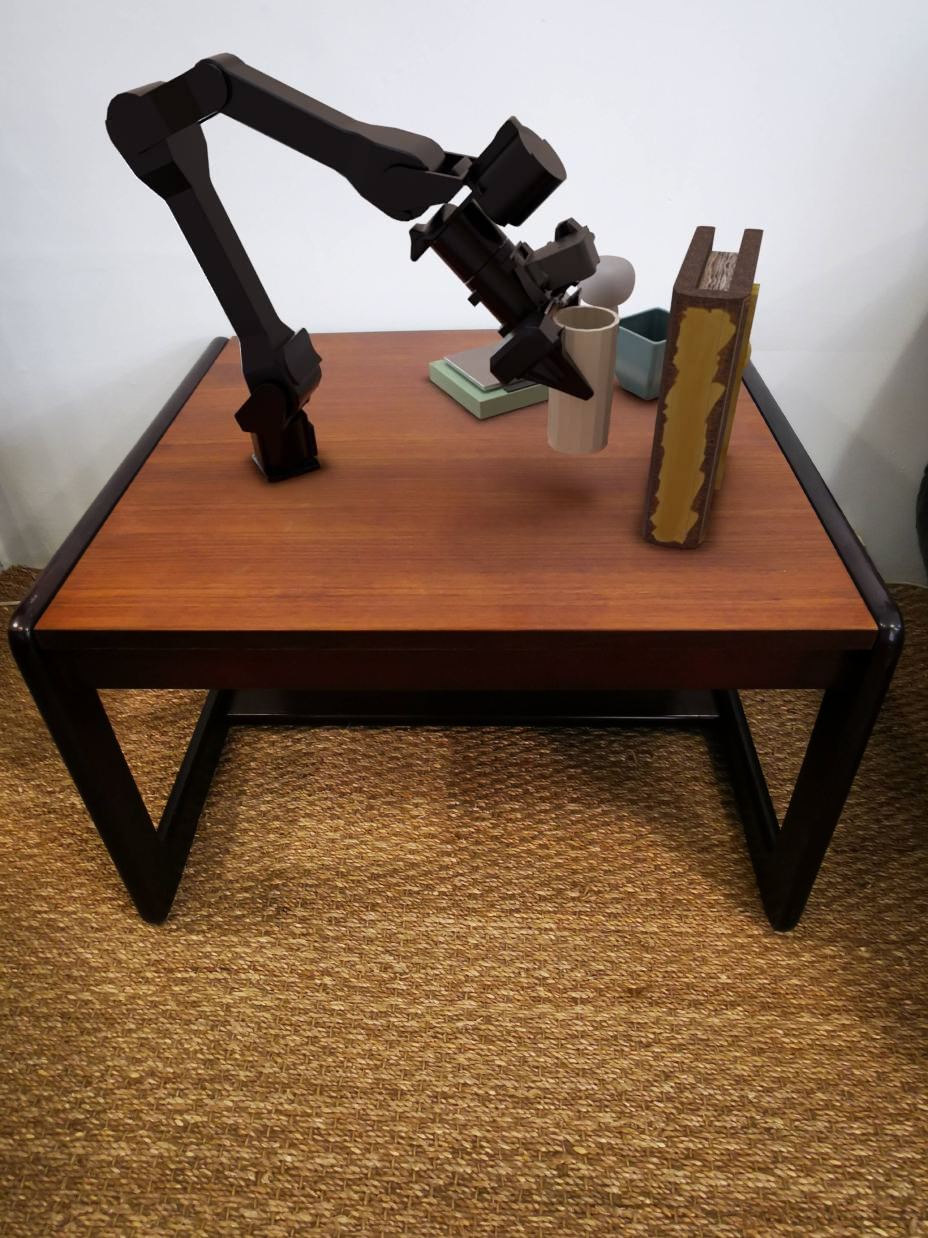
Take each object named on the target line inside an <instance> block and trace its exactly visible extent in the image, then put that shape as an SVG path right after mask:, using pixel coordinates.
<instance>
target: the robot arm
mask: <svg viewBox="0 0 928 1238" xmlns="http://www.w3.org/2000/svg"><path fill="white" fill-rule="evenodd" d="M220 114H222V115H224V116H226V117H228V118H230V119H232V120H234V121H236V122H238V123H240V124H242V125H244V126H246V127H248V128H249V129H251V130H254V131H255V132H257V133H260V134H262V135H264V136H266V137H268V138H269V139H271V140H274V141H275V142H278V143H279V144H282V145H283V146H285V147H287V148H290V149H292V150H293V151H296V152H297V153H299V154H301V155H303V156H305V157H308V158H310V159H312V160H313V161H316V162H317V163H319V164H320V165H321V164H322V165H323V166H325V167H327V168H329V169H331V170H333V171H335V173H337V174H338V175H340V176H341V177H342V178H344V179H345V180H346V181H347V182H348V183H349V185H351V187H352V188H353V190H355V192H356V193H357V194H358V195H359V196H360V197H361V198H363V199H364V200H365V201H367V202H368V203H370V205H372V206H374V207H375V208H376V209H378V210H379V211H381V212H382V213H383V214H385V216H387V217H389V218H391V219H392V220H395V221H398V222H406V223H408V222H410V221H413V220H416V219H417V218H418V219H419V218H420V217H422V216H423V215H424V214H425V213H426V212H427V211H428V210H429V209H430V208H431V207H433V206H439V205H441V206H440V207H439V208H438V210H437V211H436V212H435V213H434V214H433V215H432V216H431V217H430V218H429V220H428V221H427V222H426V223H419V222H417V223H415V224H414V225H412V226H411V228H410V229H409V230H408V236H409V239H410V248H409V250H410V252H409V259H410V261H411V262H413V263H415V262H418V261H419V260H420V258H422V256H423V255H424V254H425V253H426V252H427V251H428V250H429V248H430V249H431V250H432V251H433V252H434V253H435V254H436V256H437V257H439V259H440V260H441V261H442V262H443V263H444V264H445V265H446V266H447V267H448V269H450V271H451V272H452V273H453V274H454V275H455V276H456V277H457V278H458V280H460V282H461V283H462V284H464V286H465V287H466V288H467V289H468V290H469V291H470V292H471V293H470V294H469V296H468V297H467V299H466V300H467V301H468V302H469V303H470V304H471V305H472V306H473V308H476V306H478V305H479V304H480V303H481V304H482V305H483V306H484V307H485V309H486V310H487V311H488V312H489V313H490V314H491V315H492V316H493V317H494V318H495V319H496V321H497V322H499V324H500V326H499V328H498V330H497V333H498V335H500V337H502V339H501V340H500V341H498V342H499V343H498V344H497V346H496V348H495V350H494V352H493V353H492V355H491V357H490V372H491V374H492V375H493V376H494V377H495V378H496V379H497V380H498V381H499V382H500V383H501V384H502V385H503V386H506V385H508V384H509V383H510V382H511V381H512V380H513V379H516V380H520V379H521V378H522V379H525V380H528V381H531V382H535V383H538V384H541V385H544V386H547V387H550V388H553V389H556V390H558V391H561V392H563V393H566V394H569V395H571V396H574V397H577V398H579V399H582V400H584V401H587V400H589V399H590V398H591V397H593V395H594V391H593V389H592V388H591V386H590V385H589V383H588V381H587V380H586V378H585V377H584V375H583V374H582V373H581V371H580V370H579V368H578V367H577V365H576V364H575V362H574V361H573V359H572V358H571V357H570V355H569V354H568V352H567V351H566V349H565V335H566V328H565V326H564V327H563V328H562V329H561V330H559V331H557V329H556V326H555V324H554V322H553V321H552V318H553V315H554V313H556V312H557V311H559V310H561V309H564V308H568V307H572V306H581V302H582V299H581V295H582V287H580V288H579V289H578V290H577V289H576V290H574V292H573V293H572V294H571V295H570V294H569V292H568V290H569V288H570V287H573V288H577V285H578V284H579V283H580V281H583V280H585V279H587V278H589V277H591V276H593V275H594V274H595V273H596V271H597V268H596V267H597V264H599V263H600V258H599V256H600V254H599V252H598V250H597V247H596V245H595V241H596V235H595V233H594V232H592V231H591V230H590V228H589V227H588V225H587V224H586V225H584V226H582V225H581V224H580V222H578V221H577V220H576V219H575V218H574V217H572V216H571V217H569V218H567V219H564V220H562V221H560V222H558V223H557V224H556V227H555V229H554V237H553V238H554V239H553V241H552V240H549V241H547V242H546V244H545V245H543V246H541V247H539V248H537V249H535V250H534V249H533V248H532V247H531V246H530V245H529V244H528V243H527V241H522V240H519V241H518V242H517V243H516V244H515V243H514V242H513V241H512V240H511V239H510V237H508V236H507V234H506V233H505V232H504V231H503V230H502V229H501V227H502V228H506V227H507V226H508V225H510V226H512V227H515V228H519V227H521V226H522V225H523V224H524V223H525V222H526V221H527V220H528V219H529V218H530V217H531V216H532V215H533V214H534V213H535V212H536V211H537V210H538V209H539V208H540V207H541V206H542V205H543V204H544V203H545V202H546V201H547V199H549V198H550V197H551V195H552V194H553V193H554V192H555V191H556V190H557V189H558V188H560V187H561V186H562V184H564V182H566V180H567V179H568V178H567V177H568V175H567V170H566V168H565V165H564V163H563V161H562V160H561V158H560V156H559V155H558V154H557V151H555V149H554V148H553V146H552V145H551V144H550V143H549V141H548V140H547V139H546V138H543V139H542V137H540V135H538V134H537V133H536V132H535V131H534V130H533V129H531V128H530V127H528V126H526V125H523V124H522V123H521V122H520V120H519V119H518V118H517V116H516V115H511V116H510V117H508V118H507V119H506V120H505V121H504V123H503V124H502V125H501V126H500V127H499V129H498V130H497V131H496V133H495V135H494V137H493V139H492V140H491V142H489V144H488V145H487V146H486V148H485V149H484V150H483V151H482V152H481V153H480V154H479V155H478V156H474V155H470V154H464V153H460V152H459V153H458V152H453V151H448V150H444V149H443V148H442V146H441V145H440V144H439V143H438V142H437V141H436V140H434V139H433V138H431V137H428V136H426V135H423V134H420V133H416V132H412V131H408V130H405V129H401V128H399V127H394V126H385V125H378V124H373V123H367V122H364V121H361V120H358V119H356V118H353V117H352V116H350V115H347V113H344V112H342V111H340V110H338V109H337V108H336V109H335V108H333V107H331V106H330V105H328V104H326V103H324V102H322V101H320V100H318V99H316V98H314V97H312V96H310V95H308V94H306V93H304V92H302V91H300V90H298V89H296V88H294V87H292V86H290V85H288V84H286V83H284V82H282V81H281V80H278V79H276V78H274V77H273V76H270V75H269V74H266V73H265V72H263V71H261V70H259V69H257V68H255V67H253V66H251V65H249V64H247V63H245V61H244V60H242V59H241V58H240V57H239V56H237V55H236V54H234V53H230V52H222V53H217V54H214V55H211V56H208V57H204V58H202V59H200V60H198V62H196V63H195V64H194V66H193V67H191V68H190V69H188V70H186V71H184V72H183V73H181V74H179V75H177V76H176V77H173V78H171V79H170V80H167V81H165V80H163V81H162V80H158V81H154V82H151V83H148V84H145V85H142V86H139V87H135V88H132V89H129V90H126V91H123V92H120V93H116V95H115V96H113V98H111V99H110V101H109V103H108V106H107V108H106V119H105V120H104V126H105V130H106V133H107V136H108V138H109V140H110V142H111V144H112V145H113V147H114V148H115V149H116V151H117V152H118V154H119V156H120V157H121V159H123V161H124V162H125V164H126V165H127V167H128V168H129V169H130V171H131V172H132V174H133V175H134V177H136V179H137V180H138V181H140V182H141V183H142V184H144V185H145V186H146V187H147V188H148V189H149V190H151V191H152V192H153V193H154V194H156V195H157V196H158V197H160V199H162V200H163V202H164V203H165V204H166V206H167V207H168V209H169V212H170V214H171V215H172V217H173V219H174V221H175V223H176V225H177V227H178V229H179V230H180V232H181V234H182V236H183V238H184V239H185V242H186V243H187V245H188V247H189V249H190V251H191V253H192V254H193V256H194V257H193V258H195V260H196V263H197V264H198V266H199V268H200V270H201V271H202V273H203V275H204V277H205V279H206V281H207V283H208V284H209V287H210V288H211V290H212V293H213V294H214V297H215V298H216V300H217V301H218V303H219V305H220V307H221V309H222V311H223V312H224V315H225V316H226V319H227V321H228V322H229V324H230V325H231V328H232V329H233V331H234V333H235V335H236V338H237V340H238V343H239V351H240V352H239V353H240V364H241V373H242V376H243V379H244V381H245V385H246V386H247V389H248V392H249V394H250V395H249V397H248V398H247V399H246V400H245V402H244V403H243V404H242V405H241V406H240V408H238V409H237V411H236V412H235V413H234V415H233V417H234V419H235V421H236V423H237V424H238V426H239V427H240V429H241V431H242V432H243V433H248V434H249V433H250V434H249V435H250V438H251V443H252V447H253V451H254V454H252V455H251V458H252V461H253V463H254V464H255V465H256V467H257V468H258V469H259V471H260V472H261V473H262V475H263V477H264V478H265V479H266V480H267V482H269V483H273V482H276V481H279V480H283V479H286V478H290V477H293V476H298V475H300V474H303V473H306V472H309V471H313V470H317V469H319V468H321V466H322V465H321V462H320V461H319V459H318V458H317V456H318V455H319V449H318V442H317V438H316V437H317V436H316V431H315V426H314V424H313V423H312V422H311V420H310V419H309V417H308V413H307V412H306V411H305V410H304V409H303V408H304V407H305V406H306V405H307V404H309V403H310V401H311V396H312V394H314V392H315V391H316V390H317V389H318V388H319V386H320V383H321V380H322V378H323V373H322V372H323V371H322V369H321V365H320V364H321V362H322V361H323V357H321V356H320V355H319V354H318V352H317V350H316V348H315V347H314V345H313V342H312V340H311V336H310V334H309V332H308V330H307V328H306V327H301V328H299V329H298V330H296V331H295V330H294V329H292V328H291V327H290V326H288V325H287V324H286V323H284V322H283V320H282V319H281V318H280V317H279V315H278V313H277V312H276V309H275V307H274V304H273V303H272V301H271V298H270V297H269V295H268V293H267V291H266V289H265V287H264V285H263V283H262V281H261V279H260V276H259V275H258V273H257V271H256V269H255V267H254V265H253V263H252V261H251V259H250V256H249V255H248V252H247V251H246V248H245V247H244V245H243V243H242V241H241V238H240V237H239V235H238V232H237V231H236V229H235V226H234V225H233V223H232V221H231V219H230V217H229V214H228V213H227V211H226V209H225V206H224V205H223V202H222V200H221V198H220V196H219V195H218V192H217V191H216V189H215V186H214V184H213V182H212V178H211V172H210V161H209V150H208V149H209V148H208V142H207V140H206V136H205V133H204V130H203V128H202V125H203V124H204V123H206V122H208V121H210V120H211V119H213V118H215V117H217V116H219V115H220ZM465 187H467V188H468V189H469V190H470V192H469V194H467V196H466V197H465V198H464V199H463V200H462V202H461V203H460V204H459V205H456V204H454V203H450V202H451V201H452V200H453V199H454V198H455V197H456V196H457V195H458V194H459V193H460V192H461V191H462V190H463V189H464V188H465Z"/></svg>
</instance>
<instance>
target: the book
mask: <svg viewBox="0 0 928 1238" xmlns="http://www.w3.org/2000/svg"><path fill="white" fill-rule="evenodd" d="M716 229H717V227H716V226H712V225H711V226H710V225H698V226H696V228H695V231H694V233H693V235H692V238H691V240H690V243H689V246H688V248H687V250H686V253H685V255H684V258H683V260H682V263H681V265H680V268H679V271H678V273H677V276H676V278H675V280H674V283H673V286H672V291H671V292H672V293H671V300H670V307H669V311H670V314H669V322H668V330H667V337H666V345H665V353H664V361H663V368H662V376H661V384H660V391H659V397H658V400H657V408H656V416H655V422H654V431H653V439H652V446H651V453H650V461H649V469H648V476H647V485H646V492H645V501H644V506H643V507H644V508H643V515H642V516H643V517H642V522H641V523H642V524H641V531H640V532H641V535H642V537H643V541H644V540H645V541H647V542H649V543H652V544H654V545H657V546H663V547H669V548H674V549H675V548H676V549H684V550H685V549H686V550H687V549H697V548H698V547H699V546H701V544H702V543H704V541H705V535H706V531H707V526H708V520H709V515H710V511H711V506H712V500H713V495H714V490H717V491H720V490H721V486H722V481H723V475H724V472H725V471H724V470H725V466H726V460H727V455H728V450H729V445H730V440H731V435H732V429H733V425H734V419H735V415H736V410H737V405H738V400H739V395H740V390H741V384H742V378H743V375H744V374H743V373H744V371H745V370H746V368H747V367H748V365H749V363H750V361H751V355H752V343H751V341H750V339H751V333H752V329H753V324H754V319H755V315H756V309H757V304H758V299H759V294H760V288H761V283H754V282H755V277H756V273H757V268H758V262H759V256H760V251H761V246H762V241H763V236H764V229H762V228H761V229H760V228H744V230H743V234H742V236H741V237H742V238H741V241H740V246H739V249H738V252H737V251H735V252H733V251H720V250H713V247H714V241H715V234H716Z"/></svg>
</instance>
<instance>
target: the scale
mask: <svg viewBox="0 0 928 1238" xmlns="http://www.w3.org/2000/svg"><path fill="white" fill-rule="evenodd" d="M428 367H429V380H430V381H431V382H432V383H434V384H435V385H436V386H437V387H439V388H440V389H441V390H443V391H444V392H445V393H446V394H448V395H449V396H450V397H451V398H452V399H454V400H455V401H456V402H457V403H459V404H460V405H461V406H463V408H465V409H466V410H467V411H469V412H470V413H471V414H472V415H474V416H475V417H476V418H477V419H479V420H480V421H482V420H484V419H487V418H491V417H494V416H498V415H501V414H505V413H507V412H511V411H514V410H518V409H521V408H525V407H528V406H531V405H534V404H539V403H542V402H545V401H549V387H547V386H544V385H541V384H538V383H535V382H531V381H528V380H525V379H524V380H521V381H517V382H514V383H510V384H508V385H506V386H500V387H496V388H493V389H489V390H486V391H484V390H482V389H481V388H480V387H478V386H477V385H476V384H474V383H473V382H472V381H470V380H469V379H468V378H466V377H465V376H464V375H462V374H461V373H460V372H458V371H457V370H456V369H454V368H453V367H452V366H450V365H449V364H448V363H446V362H445V361H444V358H441V359H438V360H433V361H430V362H429V363H428Z"/></svg>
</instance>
